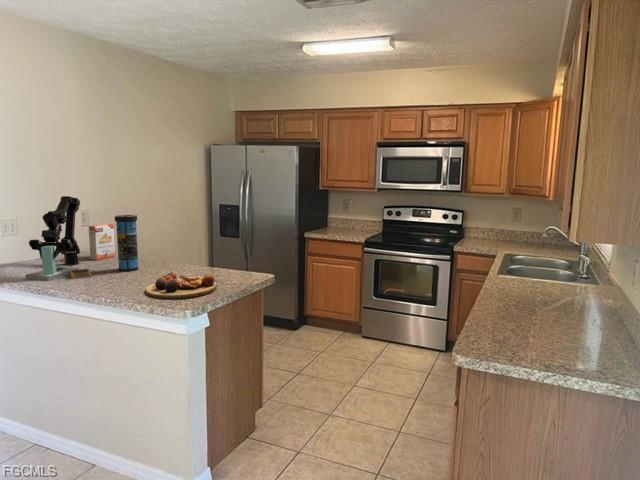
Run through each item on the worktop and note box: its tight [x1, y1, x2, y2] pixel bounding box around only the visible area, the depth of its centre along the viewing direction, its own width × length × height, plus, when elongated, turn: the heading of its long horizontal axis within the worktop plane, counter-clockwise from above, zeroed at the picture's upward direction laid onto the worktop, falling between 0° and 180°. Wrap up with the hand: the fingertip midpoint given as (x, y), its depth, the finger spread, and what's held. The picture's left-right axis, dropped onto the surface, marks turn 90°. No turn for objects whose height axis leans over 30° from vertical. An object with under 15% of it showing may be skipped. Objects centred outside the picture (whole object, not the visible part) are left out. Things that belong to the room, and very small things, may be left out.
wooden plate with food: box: [144, 271, 217, 300], centre depth 211 cm, size 32×32×8 cm
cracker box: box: [88, 223, 116, 261], centre depth 278 cm, size 14×6×21 cm, turn 157°
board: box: [25, 266, 80, 281], centre depth 235 cm, size 14×20×2 cm
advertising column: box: [114, 214, 139, 273], centre depth 247 cm, size 11×11×30 cm
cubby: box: [68, 268, 92, 280], centre depth 234 cm, size 9×9×2 cm
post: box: [41, 246, 57, 275], centre depth 228 cm, size 4×4×14 cm
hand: (47, 258), depth 227 cm, fingers open, 6 cm apart
